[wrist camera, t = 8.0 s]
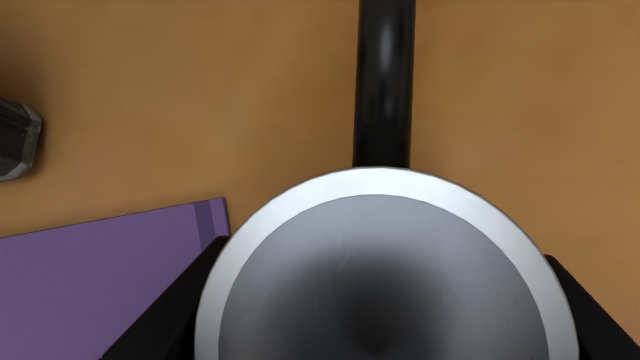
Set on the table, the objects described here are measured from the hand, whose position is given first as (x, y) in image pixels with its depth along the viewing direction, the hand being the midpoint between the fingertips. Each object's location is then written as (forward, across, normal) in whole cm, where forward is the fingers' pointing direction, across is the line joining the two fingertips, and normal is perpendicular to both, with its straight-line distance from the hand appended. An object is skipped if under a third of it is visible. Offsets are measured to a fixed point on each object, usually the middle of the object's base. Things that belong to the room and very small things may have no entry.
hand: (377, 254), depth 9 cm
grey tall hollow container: (+6, 0, +3) cm, 7 cm away
